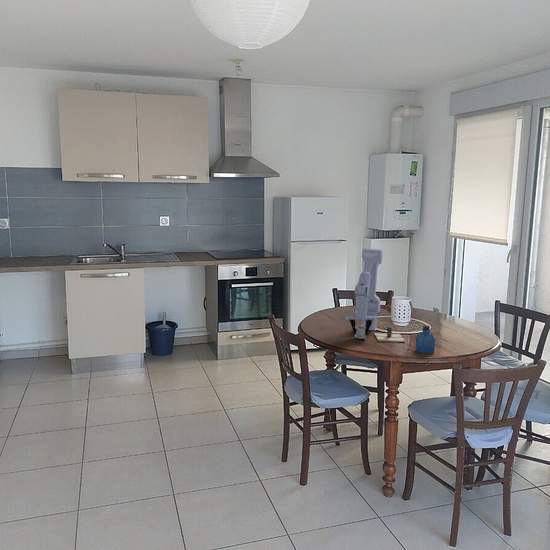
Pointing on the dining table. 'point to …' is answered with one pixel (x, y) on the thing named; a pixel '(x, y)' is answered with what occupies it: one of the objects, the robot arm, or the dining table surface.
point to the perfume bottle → (425, 341)
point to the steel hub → (360, 332)
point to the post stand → (389, 336)
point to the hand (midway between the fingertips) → (360, 334)
